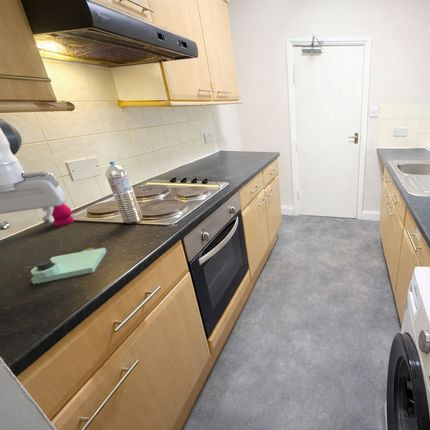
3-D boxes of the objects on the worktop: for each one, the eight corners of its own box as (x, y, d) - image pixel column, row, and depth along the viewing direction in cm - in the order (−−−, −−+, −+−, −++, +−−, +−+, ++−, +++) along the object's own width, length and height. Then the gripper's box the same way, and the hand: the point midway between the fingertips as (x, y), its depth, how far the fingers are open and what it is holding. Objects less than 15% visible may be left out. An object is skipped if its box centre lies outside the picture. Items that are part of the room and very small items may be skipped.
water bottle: (122, 220, 110) (99, 161, 100) (141, 215, 114) (121, 158, 104) (125, 226, 106) (101, 164, 95) (145, 220, 110) (124, 161, 99)
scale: (32, 285, 74) (25, 275, 72) (54, 261, 84) (49, 252, 83) (93, 273, 78) (88, 263, 77) (106, 251, 89) (102, 242, 87)
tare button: (36, 272, 74) (33, 267, 73) (42, 266, 77) (39, 261, 76) (50, 269, 75) (47, 264, 74) (56, 263, 78) (53, 258, 77)
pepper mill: (51, 223, 110) (28, 176, 101) (74, 217, 114) (53, 172, 106) (53, 228, 105) (28, 180, 97) (77, 222, 110) (55, 176, 101)
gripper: (57, 167, 71) (79, 213, 77) (-47, 178, 65) (-14, 227, 71) (46, 173, 66) (70, 222, 72) (-70, 185, 59) (-32, 238, 65)
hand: (27, 225), depth 71 cm, fingers open, 8 cm apart
